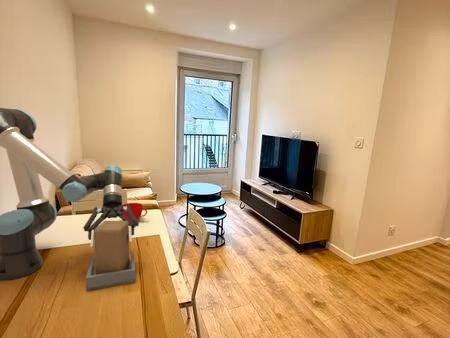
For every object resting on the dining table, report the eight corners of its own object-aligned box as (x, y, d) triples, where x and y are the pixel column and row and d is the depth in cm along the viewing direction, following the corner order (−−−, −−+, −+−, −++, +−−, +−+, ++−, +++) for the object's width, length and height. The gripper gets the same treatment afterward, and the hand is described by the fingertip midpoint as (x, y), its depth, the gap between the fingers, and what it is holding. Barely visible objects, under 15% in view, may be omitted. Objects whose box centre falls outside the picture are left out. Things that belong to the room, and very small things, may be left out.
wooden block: (130, 265, 105) (129, 220, 102) (121, 279, 95) (120, 229, 92) (106, 265, 104) (104, 219, 101) (94, 279, 95) (92, 229, 92)
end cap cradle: (86, 290, 89) (86, 278, 89) (92, 267, 104) (91, 256, 104) (135, 282, 95) (135, 270, 95) (133, 261, 110) (133, 250, 110)
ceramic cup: (141, 226, 150) (141, 210, 148) (116, 223, 153) (115, 207, 151) (152, 219, 162) (151, 204, 161) (128, 216, 165) (128, 202, 164)
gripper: (142, 199, 116) (145, 244, 104) (81, 203, 107) (76, 252, 95) (143, 191, 110) (145, 237, 98) (78, 194, 101) (73, 246, 89)
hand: (111, 245), depth 97 cm, fingers open, 13 cm apart
